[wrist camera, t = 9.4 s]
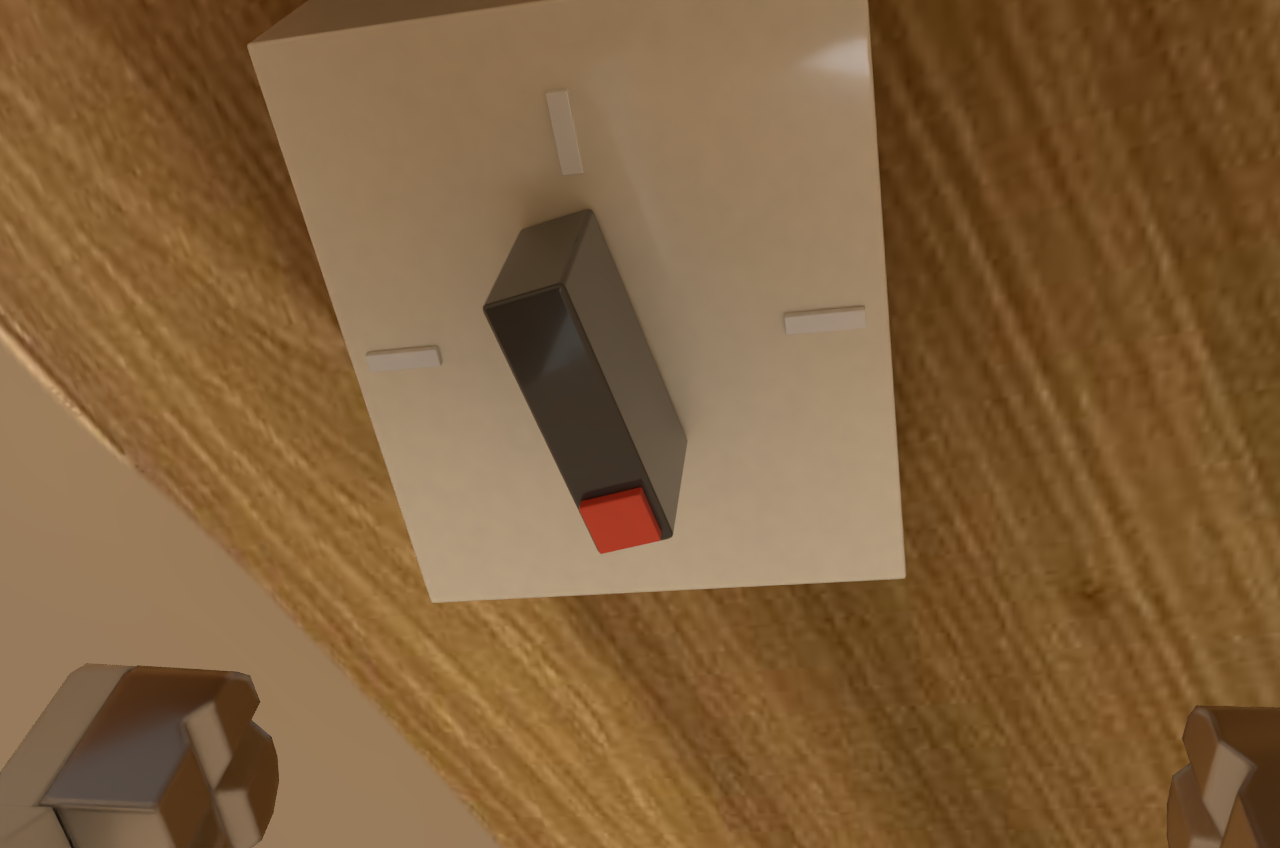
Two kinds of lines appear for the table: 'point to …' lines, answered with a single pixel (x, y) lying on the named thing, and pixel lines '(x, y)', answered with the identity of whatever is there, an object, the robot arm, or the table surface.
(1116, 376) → the table surface
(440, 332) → the panel
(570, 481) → the red-tipped dark block
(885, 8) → the table surface
